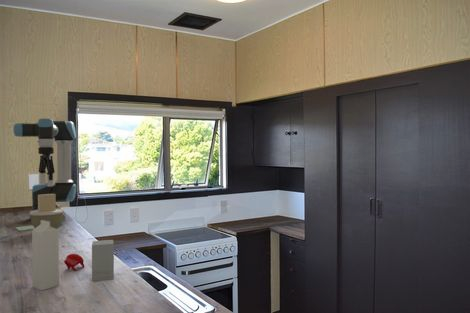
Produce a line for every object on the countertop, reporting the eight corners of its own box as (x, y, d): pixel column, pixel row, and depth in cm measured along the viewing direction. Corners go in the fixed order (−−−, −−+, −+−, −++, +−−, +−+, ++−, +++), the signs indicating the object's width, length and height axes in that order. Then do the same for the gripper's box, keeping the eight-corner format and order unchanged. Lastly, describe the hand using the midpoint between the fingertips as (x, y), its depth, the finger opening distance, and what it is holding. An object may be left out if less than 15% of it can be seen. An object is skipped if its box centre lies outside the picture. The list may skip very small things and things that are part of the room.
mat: (15, 228, 227) (15, 227, 227) (33, 226, 234) (33, 225, 234) (19, 231, 219) (19, 230, 219) (39, 228, 225) (39, 227, 225)
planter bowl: (30, 237, 205) (30, 216, 204) (30, 231, 219) (30, 212, 219) (64, 233, 212) (63, 213, 212) (62, 228, 226) (61, 209, 226)
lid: (25, 212, 216) (25, 194, 216) (58, 209, 227) (57, 192, 227) (34, 216, 203) (34, 197, 203) (68, 213, 215) (68, 194, 214)
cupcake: (68, 224, 240) (67, 204, 240) (60, 226, 232) (60, 206, 231) (54, 223, 241) (54, 204, 241) (46, 226, 233) (46, 206, 232)
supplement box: (113, 279, 137) (113, 243, 137) (91, 281, 135) (91, 245, 135) (114, 273, 145) (113, 239, 144) (92, 275, 142) (92, 240, 142)
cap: (69, 265, 144) (83, 253, 148) (60, 257, 147) (73, 246, 151) (76, 277, 149) (89, 266, 153) (67, 270, 152) (80, 259, 156)
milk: (50, 282, 135) (49, 218, 135) (59, 285, 132) (58, 220, 131) (32, 287, 130) (31, 221, 130) (41, 290, 127) (40, 222, 126)
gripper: (32, 147, 221) (32, 184, 222) (45, 146, 203) (46, 187, 203) (46, 147, 226) (46, 183, 227) (60, 146, 208) (61, 186, 208)
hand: (46, 185), depth 215 cm, fingers open, 13 cm apart
